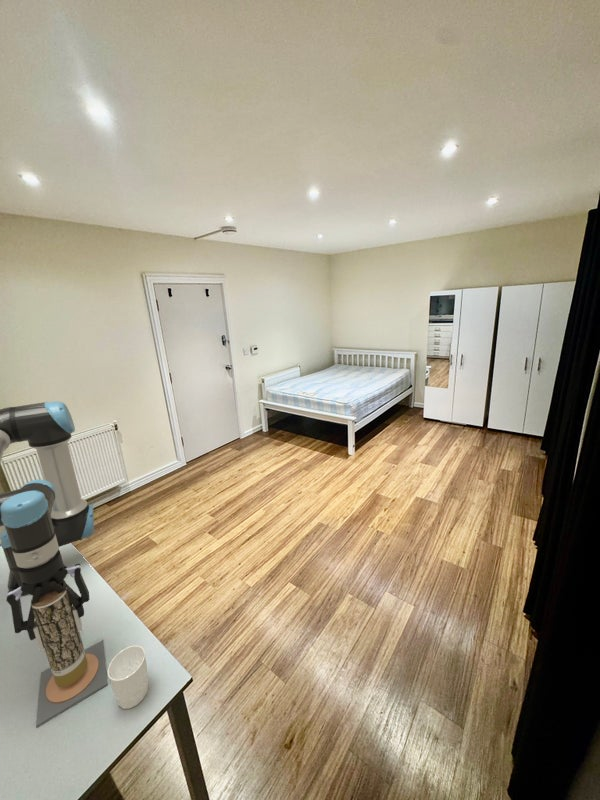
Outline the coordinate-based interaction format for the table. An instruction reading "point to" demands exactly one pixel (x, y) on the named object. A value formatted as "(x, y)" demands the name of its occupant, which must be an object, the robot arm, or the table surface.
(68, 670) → the brown bark cylinder
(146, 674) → the white cup
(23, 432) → the robot arm
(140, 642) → the table surface
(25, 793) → the table surface
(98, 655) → the coaster
